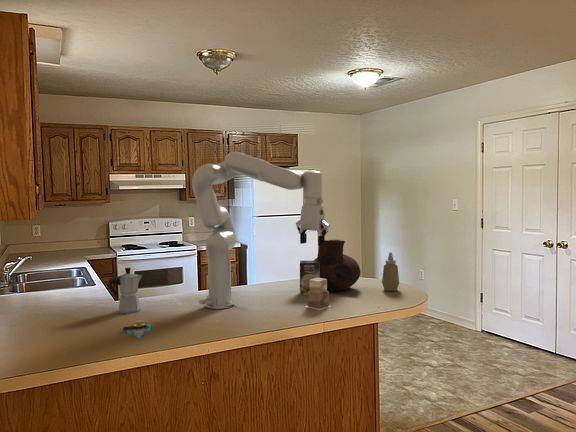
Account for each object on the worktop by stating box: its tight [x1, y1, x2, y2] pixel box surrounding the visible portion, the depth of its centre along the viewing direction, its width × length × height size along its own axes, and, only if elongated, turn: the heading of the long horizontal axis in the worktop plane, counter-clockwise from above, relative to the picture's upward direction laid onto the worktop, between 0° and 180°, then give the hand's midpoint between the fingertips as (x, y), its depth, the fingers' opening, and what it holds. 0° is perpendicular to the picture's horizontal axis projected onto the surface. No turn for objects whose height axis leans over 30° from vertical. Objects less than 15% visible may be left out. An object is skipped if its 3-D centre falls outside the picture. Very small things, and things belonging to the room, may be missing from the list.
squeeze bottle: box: [381, 251, 400, 292], centre depth 219 cm, size 8×8×18 cm
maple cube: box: [309, 278, 327, 294], centre depth 188 cm, size 5×5×5 cm
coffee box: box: [299, 260, 320, 296], centre depth 210 cm, size 9×6×16 cm
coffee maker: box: [107, 267, 143, 315], centre depth 190 cm, size 15×9×18 cm, turn 134°
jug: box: [313, 239, 361, 292], centre depth 224 cm, size 25×25×25 cm
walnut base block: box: [307, 291, 330, 310], centre depth 188 cm, size 6×6×6 cm
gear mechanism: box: [122, 315, 152, 340], centre depth 166 cm, size 20×5×9 cm
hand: (312, 244), depth 188 cm, fingers open, 9 cm apart
